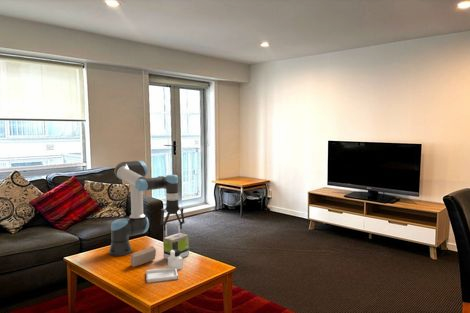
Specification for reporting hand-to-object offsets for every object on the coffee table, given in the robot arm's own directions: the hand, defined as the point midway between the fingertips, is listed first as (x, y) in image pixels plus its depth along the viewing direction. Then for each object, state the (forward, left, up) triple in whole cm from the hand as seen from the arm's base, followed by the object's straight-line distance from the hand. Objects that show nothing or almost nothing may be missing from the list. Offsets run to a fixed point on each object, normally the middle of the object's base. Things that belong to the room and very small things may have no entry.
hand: (172, 234), depth 218 cm
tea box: (-18, +4, -21) cm, 28 cm away
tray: (+12, -8, -21) cm, 25 cm away
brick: (-11, -18, -21) cm, 31 cm away
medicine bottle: (+1, +1, -22) cm, 22 cm away
